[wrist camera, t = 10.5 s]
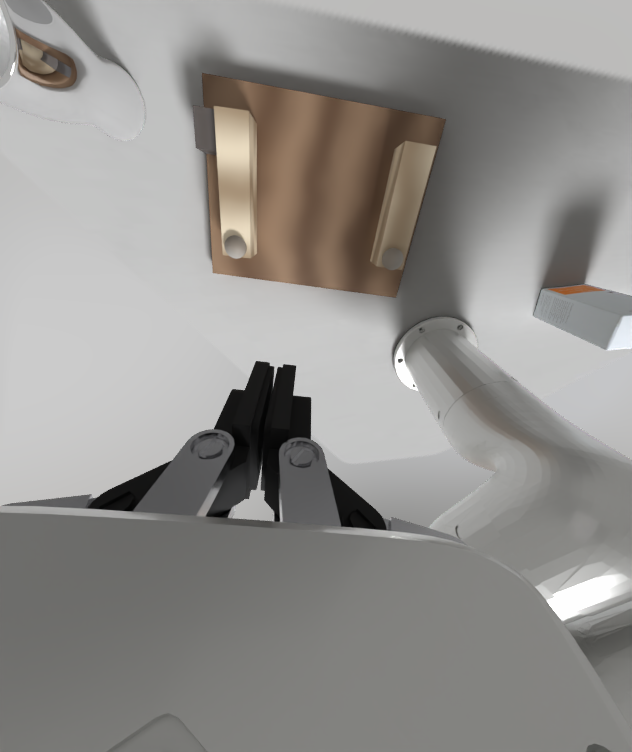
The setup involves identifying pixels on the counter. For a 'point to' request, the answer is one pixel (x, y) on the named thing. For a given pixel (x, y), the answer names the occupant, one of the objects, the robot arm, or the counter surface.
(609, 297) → the skincare box
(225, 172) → the hinged leg
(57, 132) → the counter surface
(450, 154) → the counter surface
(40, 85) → the beer glass
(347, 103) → the stool frame
